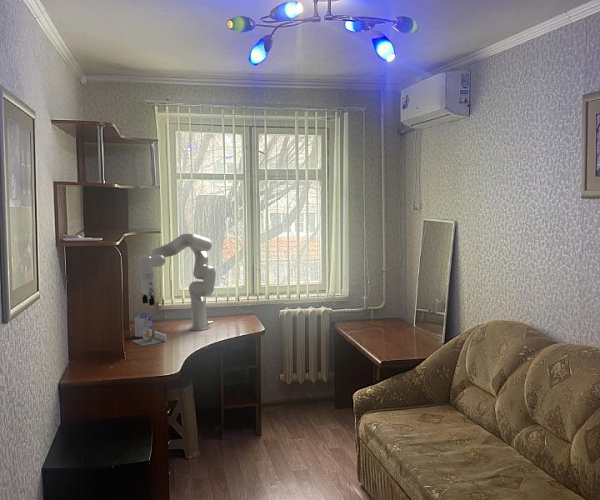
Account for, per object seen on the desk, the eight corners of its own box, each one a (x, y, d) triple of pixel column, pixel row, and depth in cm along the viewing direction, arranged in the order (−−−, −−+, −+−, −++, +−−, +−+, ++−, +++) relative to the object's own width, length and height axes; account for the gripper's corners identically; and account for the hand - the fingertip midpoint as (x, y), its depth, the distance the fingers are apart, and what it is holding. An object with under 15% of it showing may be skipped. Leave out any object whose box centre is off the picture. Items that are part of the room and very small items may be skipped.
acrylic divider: (155, 337, 370) (155, 331, 370) (166, 341, 358) (166, 335, 357) (154, 337, 370) (154, 331, 369) (165, 341, 357) (165, 335, 357)
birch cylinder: (149, 339, 362) (149, 328, 362) (153, 341, 358) (152, 329, 358) (141, 341, 359) (141, 329, 358) (145, 342, 355) (144, 331, 355)
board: (152, 337, 369) (152, 337, 369) (163, 342, 356) (162, 341, 356) (132, 341, 361) (132, 340, 361) (142, 346, 348) (142, 345, 348)
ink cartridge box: (153, 335, 377) (152, 312, 376) (149, 337, 371) (148, 314, 370) (139, 334, 379) (137, 312, 378) (134, 336, 373) (133, 314, 372)
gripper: (158, 276, 353) (160, 305, 354) (146, 274, 366) (148, 301, 368) (146, 278, 348) (148, 307, 350) (135, 275, 362) (137, 303, 364)
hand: (148, 304), depth 359 cm, fingers open, 9 cm apart
